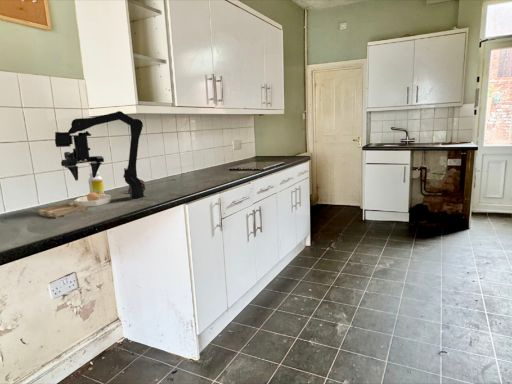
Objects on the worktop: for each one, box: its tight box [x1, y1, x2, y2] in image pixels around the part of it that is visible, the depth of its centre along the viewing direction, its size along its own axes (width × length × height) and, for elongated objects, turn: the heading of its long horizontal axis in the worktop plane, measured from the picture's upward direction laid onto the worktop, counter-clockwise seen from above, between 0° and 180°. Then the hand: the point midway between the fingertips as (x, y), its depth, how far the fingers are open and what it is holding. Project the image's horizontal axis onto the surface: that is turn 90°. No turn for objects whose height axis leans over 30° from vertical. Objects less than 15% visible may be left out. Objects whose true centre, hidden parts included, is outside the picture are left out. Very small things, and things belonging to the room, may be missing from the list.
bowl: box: [73, 193, 112, 208], centre depth 169 cm, size 15×15×3 cm
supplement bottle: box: [88, 171, 105, 195], centre depth 186 cm, size 7×7×13 cm
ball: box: [86, 192, 98, 201], centre depth 168 cm, size 5×5×5 cm
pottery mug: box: [127, 179, 146, 194], centre depth 194 cm, size 12×10×8 cm
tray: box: [37, 202, 88, 219], centre depth 155 cm, size 14×14×2 cm
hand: (85, 179), depth 167 cm, fingers open, 9 cm apart
